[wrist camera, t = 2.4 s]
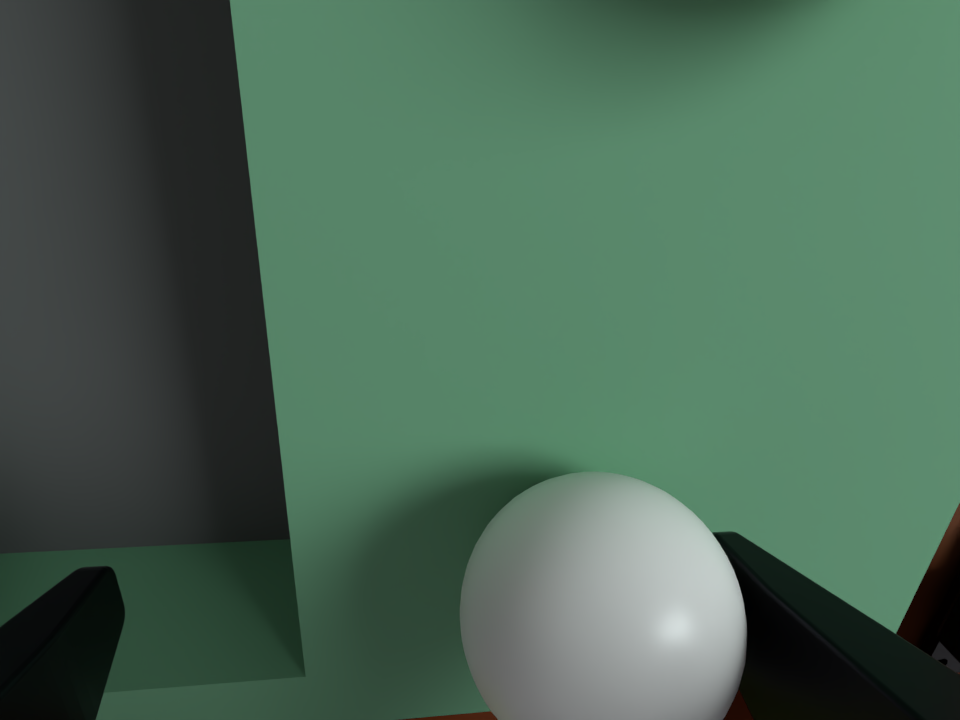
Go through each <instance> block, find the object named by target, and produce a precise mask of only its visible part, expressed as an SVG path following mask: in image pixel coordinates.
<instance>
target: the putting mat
mask: <svg viewBox="0 0 960 720" xmlns="http://www.w3.org/2000/svg"><path fill="white" fill-rule="evenodd" d="M578 472H609V473H615V474H621V475H625V476H629V477H633V478H636V479H639V480H642V481H644V482H646V483H649V484H651V485H653V486H655V487H657V488H659V489H661V490H663V491H665V492H667V493H668V494H670V495H671V496H673V497H674V498H676V499H677V500H678V501H680V502H681V503H682V504H684V505H685V506H686V507H687V508H688V509H690V510H691V511H692V512H693V513H694V514H695V515H696V516H697V517H698V518H699V519H700V520H701V521H702V522H703V523H704V524H705V525H706V527H707V528H708V529H709V530H710V531H711V532H712V533H713V532H724V531H733V532H737V533H738V534H740V535H742V536H743V537H745V538H746V539H748V540H750V541H751V542H753V543H754V544H756V545H757V546H759V547H761V548H762V549H764V550H765V551H767V552H768V553H770V554H772V555H773V556H775V557H776V558H778V559H779V560H781V561H783V562H784V563H786V564H787V565H789V566H790V567H792V568H794V569H795V570H797V571H798V572H800V573H801V574H803V575H804V576H806V577H808V578H809V579H811V580H812V581H814V582H815V583H817V584H819V585H820V586H822V587H823V588H825V589H826V590H828V591H830V592H831V593H833V594H834V595H836V596H837V597H839V598H841V599H842V600H844V601H845V602H847V603H848V604H850V605H851V606H853V607H855V608H856V609H858V610H859V611H861V612H862V613H864V614H866V615H867V616H869V617H870V618H872V619H873V620H875V621H877V622H878V623H880V624H881V625H883V626H884V627H886V628H888V629H889V630H891V631H892V632H894V633H895V634H896V632H897V630H898V628H899V626H900V624H901V622H902V620H903V618H904V616H905V614H906V612H907V610H908V608H909V606H910V604H911V601H912V599H913V597H914V595H915V593H916V591H917V589H918V587H919V585H920V583H921V581H922V579H923V577H924V575H925V573H926V571H927V569H928V566H929V564H930V562H931V560H932V558H933V556H934V554H935V552H936V550H937V548H938V546H939V544H940V542H941V540H942V538H943V536H944V533H945V531H946V529H947V527H948V525H949V523H950V521H951V519H952V517H953V515H954V513H955V511H956V509H957V507H958V505H959V503H960V0H0V626H2V625H3V624H4V623H6V622H7V621H8V620H10V619H11V618H12V617H14V616H15V615H16V614H18V613H19V612H20V611H22V610H23V609H24V608H26V607H27V606H28V605H30V604H31V603H32V602H33V601H35V600H36V599H37V598H39V597H40V596H41V595H43V594H44V593H45V592H47V591H48V590H49V589H51V588H52V587H53V586H55V585H56V584H57V583H59V582H60V581H61V580H63V579H64V578H65V577H67V576H68V575H69V574H71V573H72V572H73V571H75V570H77V569H79V568H82V567H93V566H109V567H111V568H112V569H113V570H114V571H115V574H116V577H117V581H118V584H119V588H120V591H121V595H122V599H123V602H124V606H125V620H124V625H123V629H122V632H121V636H120V639H119V642H118V646H117V649H116V653H115V656H114V660H113V663H112V666H111V670H110V673H109V677H108V680H107V683H106V687H105V690H104V694H103V697H102V700H101V704H100V707H99V711H98V714H97V717H96V720H398V719H409V718H420V717H431V716H442V715H453V714H464V713H475V712H486V711H491V710H490V709H489V707H488V706H487V704H486V703H485V701H484V699H483V698H482V696H481V694H480V692H479V690H478V688H477V686H476V684H475V682H474V679H473V677H472V674H471V672H470V669H469V666H468V663H467V660H466V656H465V653H464V649H463V644H462V637H461V626H460V600H461V590H462V584H463V579H464V575H465V571H466V567H467V564H468V562H469V559H470V557H471V554H472V552H473V549H474V547H475V545H476V543H477V541H478V540H479V538H480V536H481V535H482V533H483V531H484V530H485V528H486V527H487V525H488V524H489V523H490V521H491V520H492V519H493V518H494V517H495V515H496V514H497V513H498V512H499V511H500V510H501V509H502V508H503V507H504V506H505V505H506V504H508V503H509V502H510V501H511V500H512V499H513V498H514V497H516V496H517V495H519V494H521V493H522V492H524V491H525V490H527V489H529V488H530V487H532V486H534V485H536V484H538V483H541V482H543V481H545V480H547V479H551V478H554V477H558V476H562V475H566V474H570V473H578Z"/></svg>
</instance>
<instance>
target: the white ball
mask: <svg viewBox="0 0 960 720" xmlns="http://www.w3.org/2000/svg"><path fill="white" fill-rule="evenodd" d="M460 626H461V637H462V644H463V649H464V653H465V656H466V660H467V663H468V666H469V669H470V672H471V674H472V677H473V679H474V682H475V684H476V686H477V688H478V690H479V692H480V694H481V696H482V698H483V699H484V701H485V703H486V704H487V706H488V707H489V709H490V710H491V712H492V713H493V714H494V715H495V717H496V718H497V719H498V720H723V719H724V717H725V716H726V714H727V712H728V710H729V708H730V706H731V704H732V702H733V700H734V698H735V696H736V693H737V691H738V689H739V685H740V681H741V678H742V674H743V670H744V666H745V661H746V649H747V620H746V614H745V608H744V602H743V597H742V593H741V590H740V586H739V583H738V580H737V577H736V575H735V572H734V570H733V568H732V566H731V563H730V561H729V559H728V557H727V555H726V554H725V552H724V550H723V549H722V547H721V545H720V544H719V542H718V541H717V540H716V538H715V537H714V535H713V534H712V532H711V531H710V530H709V529H708V528H707V527H706V525H705V524H704V523H703V522H702V521H701V520H700V519H699V518H698V517H697V516H696V515H695V514H694V513H693V512H692V511H691V510H690V509H688V508H687V507H686V506H685V505H684V504H682V503H681V502H680V501H678V500H677V499H676V498H674V497H673V496H671V495H670V494H668V493H667V492H665V491H663V490H661V489H659V488H657V487H655V486H653V485H651V484H649V483H646V482H644V481H642V480H639V479H636V478H633V477H629V476H625V475H621V474H615V473H609V472H578V473H570V474H566V475H562V476H558V477H554V478H551V479H547V480H545V481H543V482H541V483H538V484H536V485H534V486H532V487H530V488H529V489H527V490H525V491H524V492H522V493H521V494H519V495H517V496H516V497H514V498H513V499H512V500H511V501H510V502H509V503H508V504H506V505H505V506H504V507H503V508H502V509H501V510H500V511H499V512H498V513H497V514H496V515H495V517H494V518H493V519H492V520H491V521H490V523H489V524H488V525H487V527H486V528H485V530H484V531H483V533H482V535H481V536H480V538H479V540H478V541H477V543H476V545H475V547H474V549H473V552H472V554H471V557H470V559H469V562H468V564H467V567H466V571H465V575H464V579H463V584H462V590H461V600H460Z"/></svg>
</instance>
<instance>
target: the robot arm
mask: <svg viewBox="0 0 960 720" xmlns="http://www.w3.org/2000/svg"><path fill="white" fill-rule="evenodd" d="M712 534H713V535H714V537H715V538H716V540H717V541H718V542H719V544H720V545H721V547H722V549H723V550H724V552H725V554H726V555H727V557H728V559H729V561H730V563H731V566H732V568H733V570H734V572H735V575H736V577H737V580H738V583H739V586H740V590H741V593H742V597H743V602H744V608H745V614H746V620H747V649H746V661H745V666H744V670H743V674H742V678H741V681H740V685H739V690H740V692H741V694H742V696H743V698H744V701H745V703H746V705H747V707H748V709H749V711H750V713H751V715H752V717H753V719H754V720H960V674H958V673H957V672H960V573H959V575H958V577H957V579H956V581H955V583H954V584H953V586H952V588H951V590H950V592H949V594H948V596H947V598H946V600H945V602H944V604H943V606H942V608H941V610H940V612H939V613H938V615H937V617H936V619H935V621H934V623H933V625H932V627H931V629H930V631H929V633H928V635H927V637H926V639H925V641H924V642H923V644H922V646H921V648H920V649H919V648H917V647H916V646H914V645H913V644H911V643H909V642H908V641H906V640H905V639H903V638H902V637H900V636H898V635H897V634H895V633H894V632H892V631H891V630H889V629H888V628H886V627H884V626H883V625H881V624H880V623H878V622H877V621H875V620H873V619H872V618H870V617H869V616H867V615H866V614H864V613H862V612H861V611H859V610H858V609H856V608H855V607H853V606H851V605H850V604H848V603H847V602H845V601H844V600H842V599H841V598H839V597H837V596H836V595H834V594H833V593H831V592H830V591H828V590H826V589H825V588H823V587H822V586H820V585H819V584H817V583H815V582H814V581H812V580H811V579H809V578H808V577H806V576H804V575H803V574H801V573H800V572H798V571H797V570H795V569H794V568H792V567H790V566H789V565H787V564H786V563H784V562H783V561H781V560H779V559H778V558H776V557H775V556H773V555H772V554H770V553H768V552H767V551H765V550H764V549H762V548H761V547H759V546H757V545H756V544H754V543H753V542H751V541H750V540H748V539H746V538H745V537H743V536H742V535H740V534H738V533H737V532H733V531H724V532H713V533H712ZM124 620H125V606H124V602H123V599H122V595H121V591H120V588H119V584H118V581H117V577H116V574H115V571H114V570H113V569H112V568H111V567H109V566H93V567H82V568H79V569H77V570H75V571H73V572H72V573H71V574H69V575H68V576H67V577H65V578H64V579H63V580H61V581H60V582H59V583H57V584H56V585H55V586H53V587H52V588H51V589H49V590H48V591H47V592H45V593H44V594H43V595H41V596H40V597H39V598H37V599H36V600H35V601H33V602H32V603H31V604H30V605H28V606H27V607H26V608H24V609H23V610H22V611H20V612H19V613H18V614H16V615H15V616H14V617H12V618H11V619H10V620H8V621H7V622H6V623H4V624H3V625H2V626H0V720H96V717H97V714H98V711H99V707H100V704H101V700H102V697H103V694H104V690H105V687H106V683H107V680H108V677H109V673H110V670H111V666H112V663H113V660H114V656H115V653H116V649H117V646H118V642H119V639H120V636H121V632H122V629H123V625H124Z"/></svg>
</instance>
